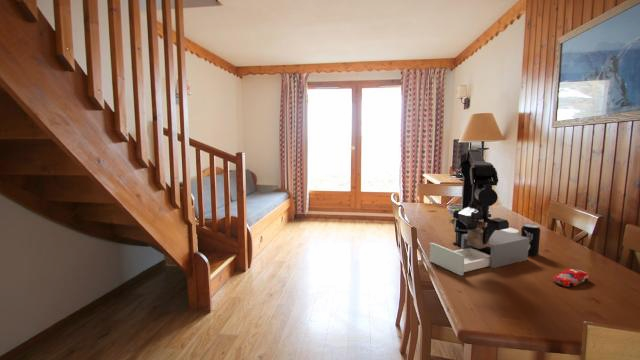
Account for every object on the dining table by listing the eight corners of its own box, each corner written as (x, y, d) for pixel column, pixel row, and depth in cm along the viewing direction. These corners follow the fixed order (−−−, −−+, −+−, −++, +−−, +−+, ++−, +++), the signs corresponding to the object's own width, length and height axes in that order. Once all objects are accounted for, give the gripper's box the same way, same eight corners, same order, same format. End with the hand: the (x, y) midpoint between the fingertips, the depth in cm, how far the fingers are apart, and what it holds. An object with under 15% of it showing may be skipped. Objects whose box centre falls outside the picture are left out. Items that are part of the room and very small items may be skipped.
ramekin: (492, 242, 149) (492, 231, 148) (489, 235, 159) (490, 225, 159) (520, 245, 145) (521, 234, 144) (515, 238, 155) (516, 227, 155)
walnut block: (466, 244, 118) (467, 229, 117) (476, 242, 120) (477, 227, 119) (478, 248, 114) (479, 233, 113) (488, 246, 116) (489, 231, 115)
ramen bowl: (449, 225, 179) (449, 210, 177) (440, 215, 201) (441, 202, 200) (497, 227, 174) (498, 212, 173) (483, 216, 197) (484, 203, 196)
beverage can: (541, 256, 131) (543, 227, 129) (523, 255, 132) (525, 226, 131) (534, 251, 137) (536, 223, 136) (516, 250, 139) (519, 222, 137)
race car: (566, 289, 103) (567, 277, 103) (549, 282, 108) (550, 271, 108) (592, 282, 108) (594, 271, 107) (575, 276, 113) (576, 265, 112)
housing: (492, 268, 120) (494, 245, 118) (460, 255, 133) (461, 234, 132) (527, 259, 128) (529, 238, 127) (493, 248, 141) (495, 228, 140)
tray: (460, 275, 113) (462, 255, 112) (429, 260, 126) (430, 243, 125) (499, 266, 121) (501, 247, 120) (466, 253, 134) (467, 236, 133)
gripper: (443, 197, 119) (441, 237, 122) (488, 207, 103) (485, 254, 105) (464, 194, 124) (462, 233, 126) (511, 203, 107) (508, 249, 110)
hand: (477, 242), depth 117 cm, fingers closed on walnut block, 5 cm apart
